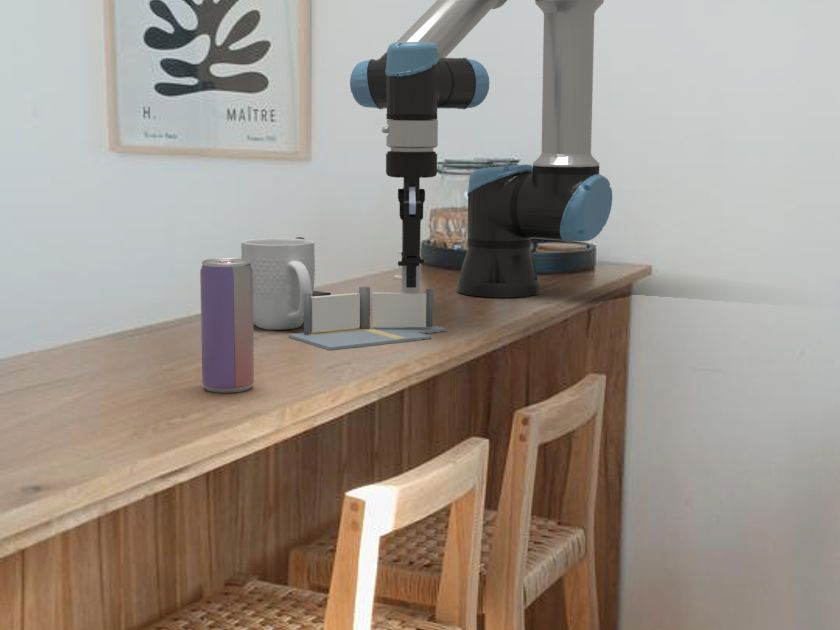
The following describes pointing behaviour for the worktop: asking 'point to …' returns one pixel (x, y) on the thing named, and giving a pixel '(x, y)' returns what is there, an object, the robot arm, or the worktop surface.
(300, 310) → the mug
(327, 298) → the fence fixed panel
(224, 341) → the beverage can
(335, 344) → the card
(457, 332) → the worktop surface
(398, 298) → the panel
